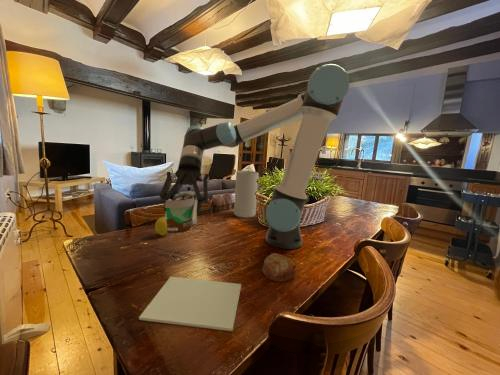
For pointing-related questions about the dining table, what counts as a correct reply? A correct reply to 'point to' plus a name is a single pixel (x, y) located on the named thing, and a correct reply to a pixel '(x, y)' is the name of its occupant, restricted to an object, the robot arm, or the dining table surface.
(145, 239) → the dining table surface
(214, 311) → the mat
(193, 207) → the coffeepot
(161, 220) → the lemon
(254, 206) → the cylinder vase
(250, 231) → the dining table surface
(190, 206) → the food container
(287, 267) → the bread roll
